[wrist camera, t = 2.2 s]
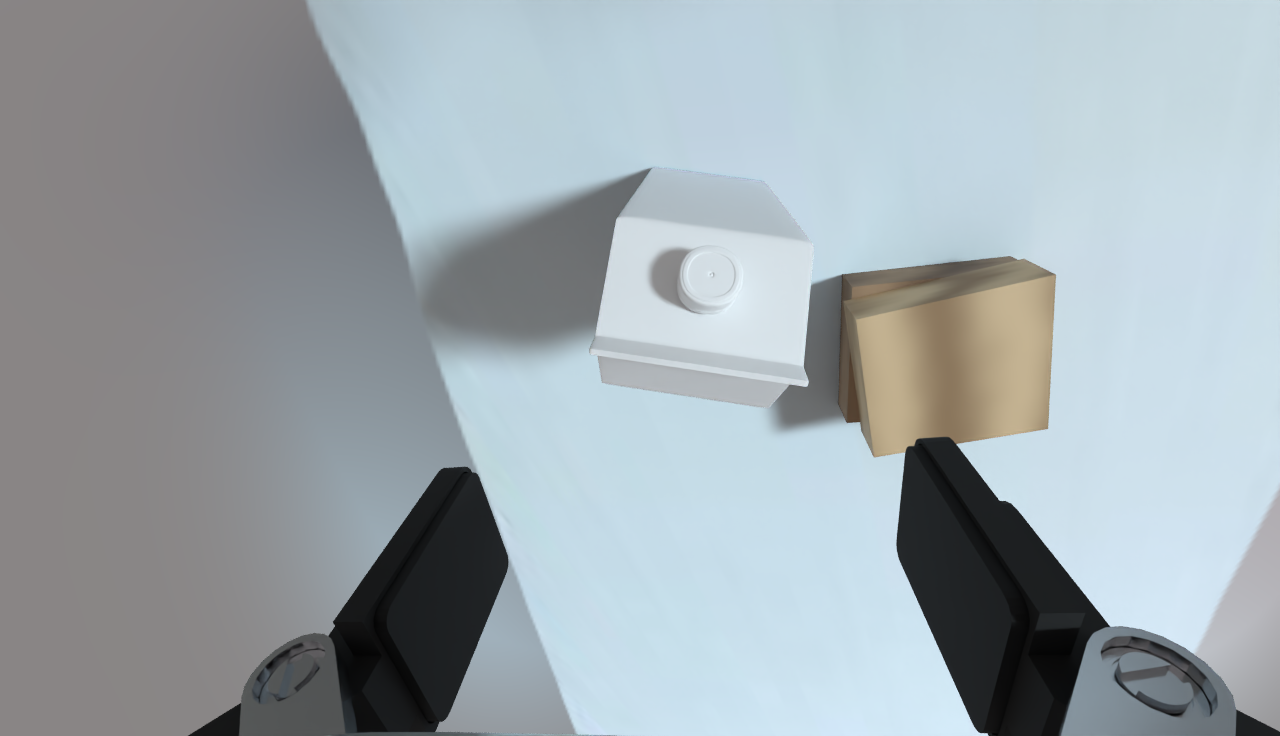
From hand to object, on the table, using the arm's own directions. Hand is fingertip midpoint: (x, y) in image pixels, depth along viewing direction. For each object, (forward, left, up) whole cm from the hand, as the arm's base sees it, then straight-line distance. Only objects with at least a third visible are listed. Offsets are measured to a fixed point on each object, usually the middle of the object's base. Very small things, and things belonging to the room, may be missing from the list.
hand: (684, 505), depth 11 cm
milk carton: (0, 0, -25) cm, 25 cm away
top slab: (-14, +9, -23) cm, 28 cm away
